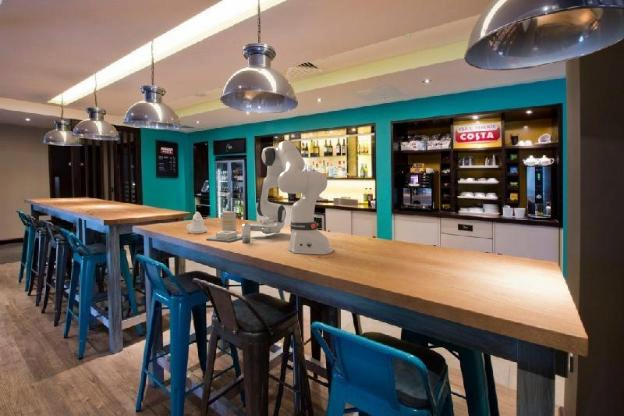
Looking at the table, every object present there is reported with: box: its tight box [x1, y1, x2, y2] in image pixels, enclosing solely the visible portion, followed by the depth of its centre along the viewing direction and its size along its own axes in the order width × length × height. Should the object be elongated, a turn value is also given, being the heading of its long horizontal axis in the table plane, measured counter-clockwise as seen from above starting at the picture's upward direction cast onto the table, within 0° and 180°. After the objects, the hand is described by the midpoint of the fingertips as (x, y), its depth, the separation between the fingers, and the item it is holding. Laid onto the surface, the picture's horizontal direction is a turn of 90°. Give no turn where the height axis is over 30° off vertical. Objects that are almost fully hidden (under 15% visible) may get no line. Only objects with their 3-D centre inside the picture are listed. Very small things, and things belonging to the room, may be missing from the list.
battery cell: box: [241, 222, 251, 244], centre depth 194 cm, size 4×4×11 cm
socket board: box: [205, 230, 242, 243], centre depth 204 cm, size 16×16×4 cm
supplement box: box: [221, 210, 237, 232], centre depth 233 cm, size 8×5×13 cm, turn 84°
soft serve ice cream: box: [186, 211, 208, 234], centre depth 229 cm, size 12×15×14 cm
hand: (255, 229), depth 202 cm, fingers open, 8 cm apart
